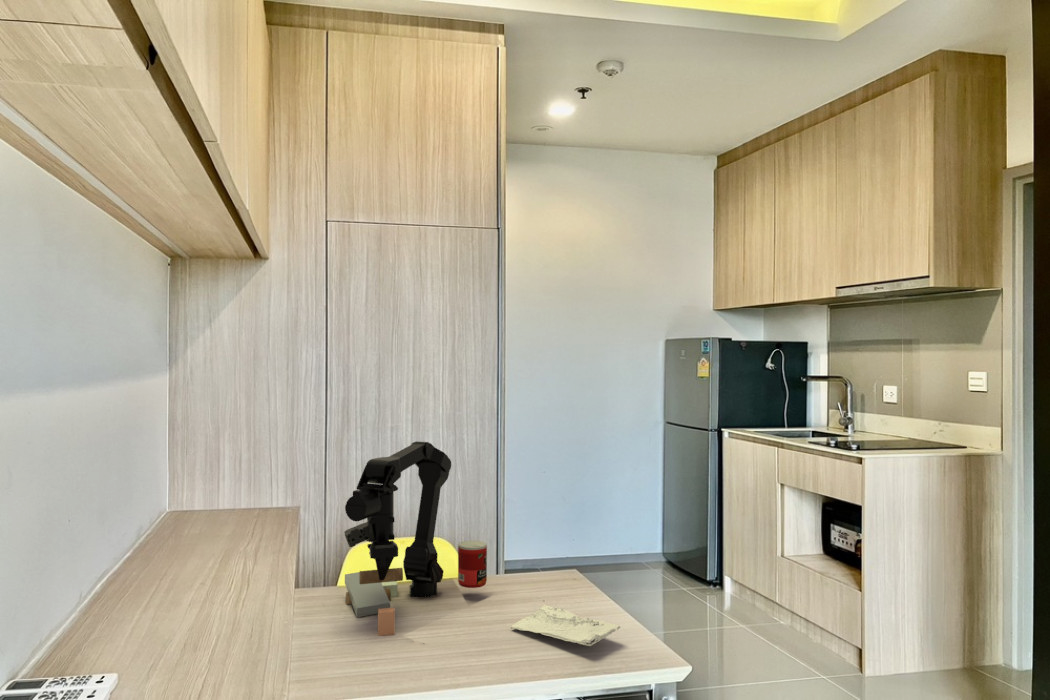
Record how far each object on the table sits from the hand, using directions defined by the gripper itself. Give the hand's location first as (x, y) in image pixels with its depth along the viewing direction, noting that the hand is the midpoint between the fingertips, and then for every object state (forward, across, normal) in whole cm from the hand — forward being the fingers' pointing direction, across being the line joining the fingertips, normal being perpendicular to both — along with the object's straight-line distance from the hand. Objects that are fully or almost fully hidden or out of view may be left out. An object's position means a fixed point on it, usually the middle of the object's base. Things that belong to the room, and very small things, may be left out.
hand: (381, 577), depth 169 cm
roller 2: (+8, -15, -2) cm, 17 cm away
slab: (+8, -11, -3) cm, 14 cm away
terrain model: (+11, +17, +41) cm, 45 cm away
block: (+10, -20, 0) cm, 22 cm away
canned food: (+10, -20, +26) cm, 35 cm away
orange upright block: (+10, +9, 0) cm, 13 cm away
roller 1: (+1, 0, 0) cm, 1 cm away
